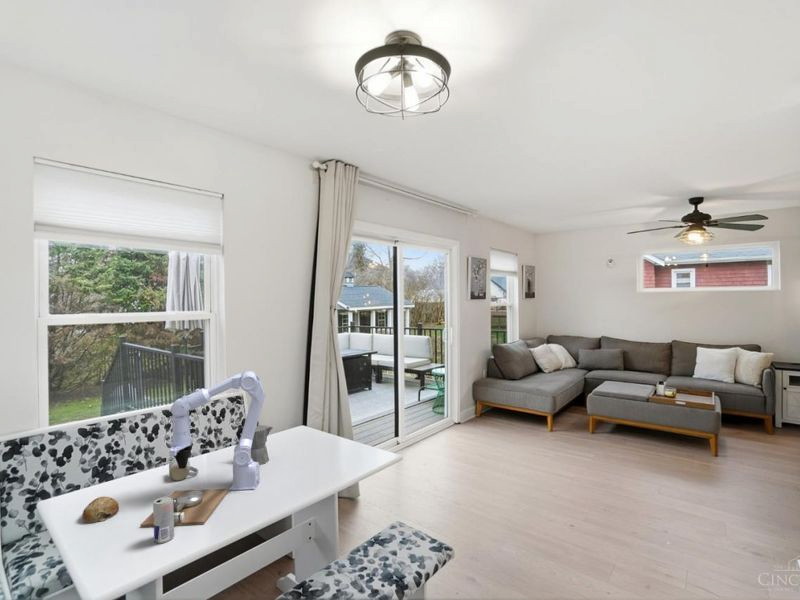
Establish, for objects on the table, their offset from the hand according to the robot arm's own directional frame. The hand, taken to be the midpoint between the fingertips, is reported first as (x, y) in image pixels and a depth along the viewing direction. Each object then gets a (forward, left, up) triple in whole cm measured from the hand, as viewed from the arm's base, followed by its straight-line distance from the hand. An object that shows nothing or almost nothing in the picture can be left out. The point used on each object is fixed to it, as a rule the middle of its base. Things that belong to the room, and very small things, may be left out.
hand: (182, 467), depth 155 cm
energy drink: (-7, +28, -11) cm, 31 cm away
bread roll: (+22, +12, -11) cm, 28 cm away
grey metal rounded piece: (-5, +11, -9) cm, 15 cm away
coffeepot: (-18, -29, -11) cm, 36 cm away
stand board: (-6, +10, -10) cm, 15 cm away
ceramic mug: (+8, -17, -11) cm, 21 cm away
